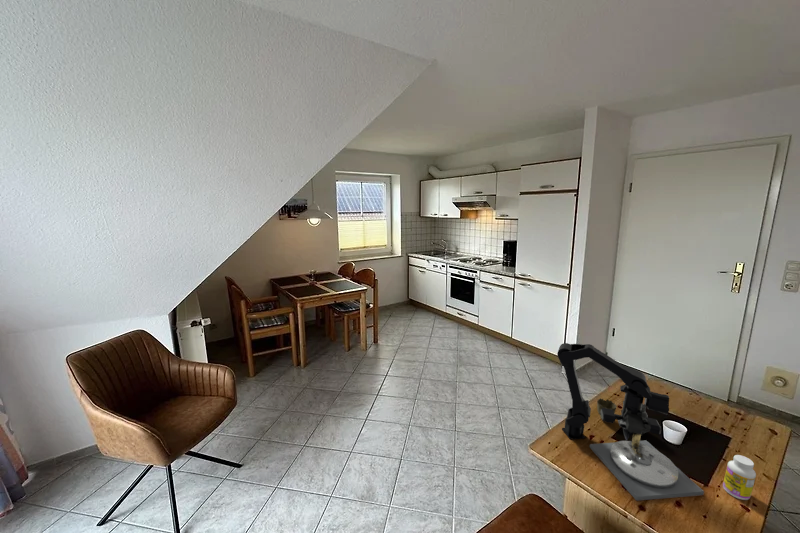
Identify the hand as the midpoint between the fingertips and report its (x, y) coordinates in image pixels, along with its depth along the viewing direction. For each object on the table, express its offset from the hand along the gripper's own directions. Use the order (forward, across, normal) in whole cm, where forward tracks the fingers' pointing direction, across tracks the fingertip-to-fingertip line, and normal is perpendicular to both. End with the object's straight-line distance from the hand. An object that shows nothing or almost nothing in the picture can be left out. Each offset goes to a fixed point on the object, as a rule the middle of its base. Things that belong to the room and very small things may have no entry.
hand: (625, 439), depth 130 cm
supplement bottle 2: (+4, +31, -8) cm, 32 cm away
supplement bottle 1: (+5, +7, +16) cm, 18 cm away
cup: (+6, -3, +19) cm, 20 cm away
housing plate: (+5, +4, -8) cm, 10 cm away
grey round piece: (+3, +4, -8) cm, 10 cm away
